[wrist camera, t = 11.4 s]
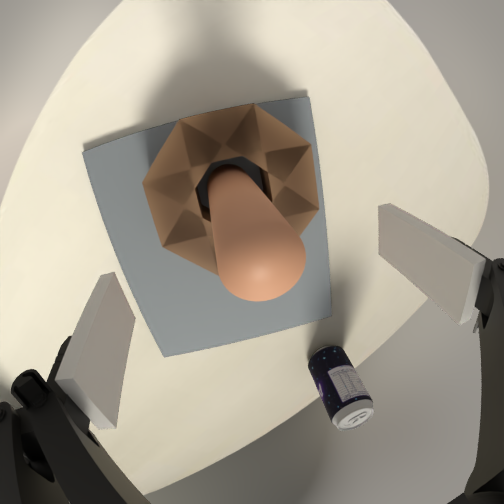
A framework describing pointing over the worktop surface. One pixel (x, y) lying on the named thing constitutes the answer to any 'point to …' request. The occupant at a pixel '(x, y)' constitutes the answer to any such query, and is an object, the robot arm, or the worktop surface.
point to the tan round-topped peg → (251, 238)
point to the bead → (220, 148)
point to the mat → (187, 273)
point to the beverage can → (340, 388)
